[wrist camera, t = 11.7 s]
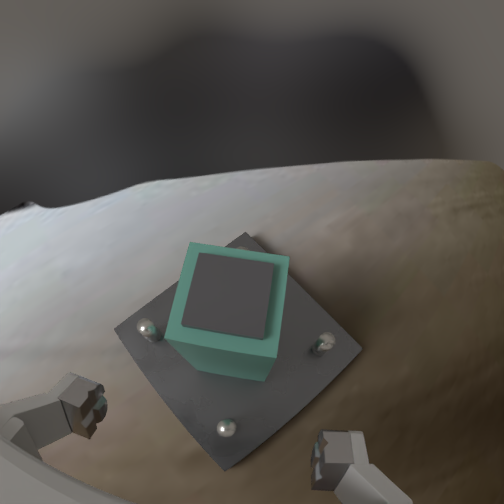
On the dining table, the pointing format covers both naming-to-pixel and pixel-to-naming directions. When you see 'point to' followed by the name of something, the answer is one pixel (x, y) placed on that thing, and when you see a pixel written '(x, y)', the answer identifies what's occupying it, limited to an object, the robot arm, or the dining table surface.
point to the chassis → (238, 389)
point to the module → (229, 310)
